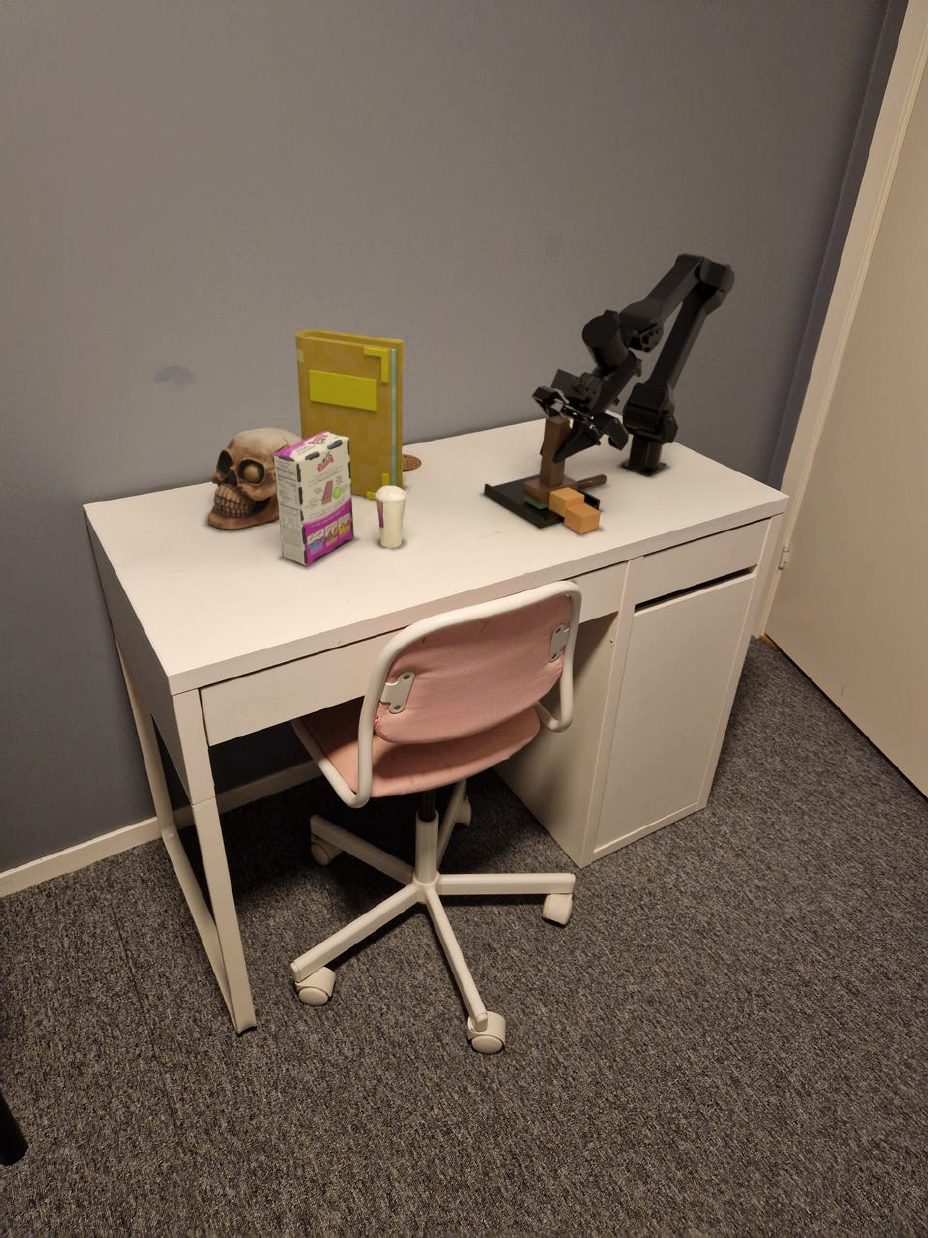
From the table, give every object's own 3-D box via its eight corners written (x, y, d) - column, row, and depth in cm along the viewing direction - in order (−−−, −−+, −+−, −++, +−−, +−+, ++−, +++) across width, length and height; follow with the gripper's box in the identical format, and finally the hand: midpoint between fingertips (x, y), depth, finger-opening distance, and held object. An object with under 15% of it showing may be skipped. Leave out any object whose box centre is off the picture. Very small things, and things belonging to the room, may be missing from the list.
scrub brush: (558, 489, 146) (567, 410, 139) (575, 499, 143) (586, 419, 136) (522, 499, 142) (529, 418, 135) (539, 510, 139) (548, 428, 132)
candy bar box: (329, 530, 133) (324, 429, 124) (354, 538, 131) (351, 437, 122) (280, 557, 125) (271, 452, 116) (306, 567, 123) (299, 461, 114)
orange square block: (582, 519, 140) (584, 502, 139) (598, 528, 138) (601, 511, 136) (563, 524, 138) (565, 507, 137) (580, 534, 136) (582, 517, 134)
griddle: (576, 469, 158) (578, 459, 156) (635, 499, 148) (637, 488, 147) (483, 494, 147) (484, 483, 145) (540, 528, 137) (541, 517, 135)
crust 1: (566, 503, 142) (568, 486, 141) (582, 512, 140) (584, 495, 138) (548, 508, 140) (549, 491, 139) (564, 517, 137) (565, 500, 136)
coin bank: (202, 528, 131) (197, 443, 125) (225, 492, 146) (221, 415, 140) (305, 534, 132) (305, 449, 126) (317, 498, 148) (317, 421, 142)
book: (403, 486, 148) (404, 340, 134) (387, 502, 142) (387, 351, 129) (315, 470, 152) (307, 326, 138) (297, 484, 147) (287, 336, 133)
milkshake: (406, 552, 128) (407, 491, 122) (372, 548, 129) (371, 486, 123) (414, 539, 132) (415, 479, 126) (380, 534, 132) (380, 474, 127)
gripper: (545, 335, 138) (487, 412, 138) (627, 366, 125) (562, 451, 126) (576, 377, 146) (520, 449, 146) (655, 410, 134) (594, 489, 134)
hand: (547, 458), depth 138 cm, fingers closed on scrub brush, 3 cm apart
